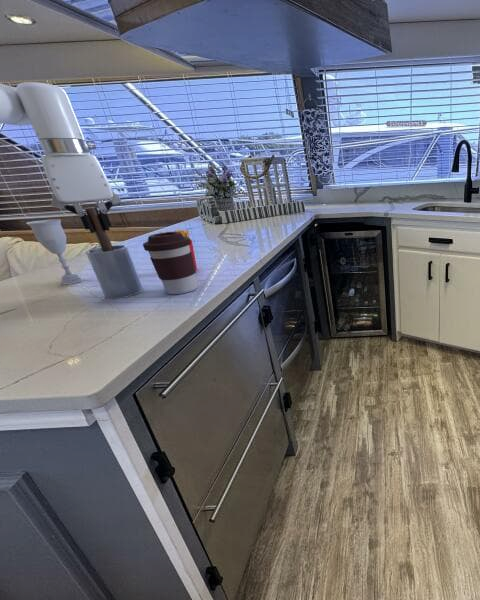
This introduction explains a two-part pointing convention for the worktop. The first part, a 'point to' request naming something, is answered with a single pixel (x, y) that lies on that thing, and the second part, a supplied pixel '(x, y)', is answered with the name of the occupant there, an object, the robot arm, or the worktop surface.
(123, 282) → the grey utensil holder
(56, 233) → the chalice
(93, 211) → the brush
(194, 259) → the french fries
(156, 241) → the coffee cup
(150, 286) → the worktop surface
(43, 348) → the worktop surface
